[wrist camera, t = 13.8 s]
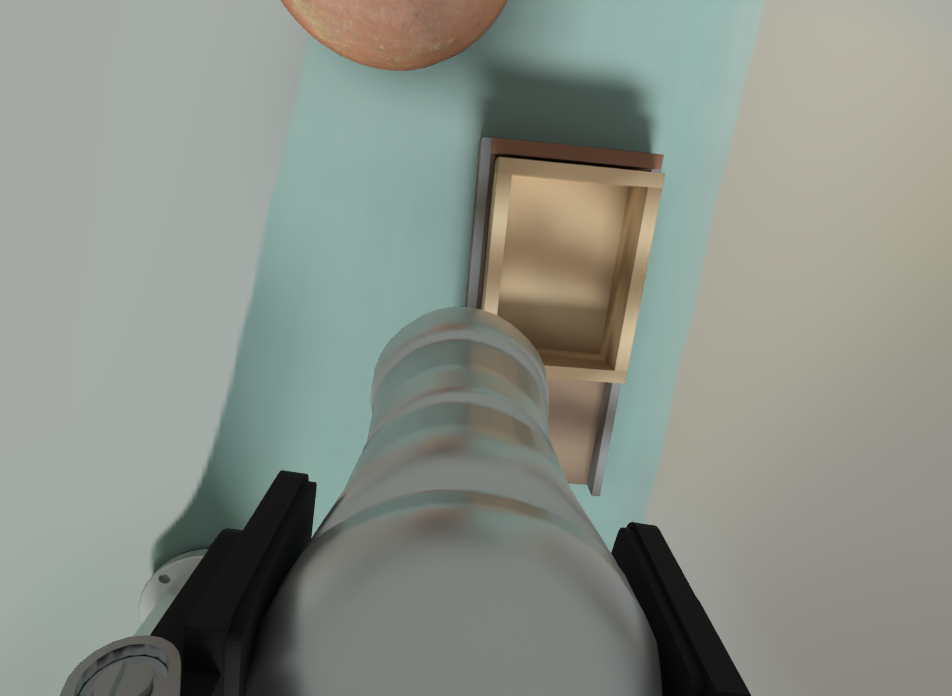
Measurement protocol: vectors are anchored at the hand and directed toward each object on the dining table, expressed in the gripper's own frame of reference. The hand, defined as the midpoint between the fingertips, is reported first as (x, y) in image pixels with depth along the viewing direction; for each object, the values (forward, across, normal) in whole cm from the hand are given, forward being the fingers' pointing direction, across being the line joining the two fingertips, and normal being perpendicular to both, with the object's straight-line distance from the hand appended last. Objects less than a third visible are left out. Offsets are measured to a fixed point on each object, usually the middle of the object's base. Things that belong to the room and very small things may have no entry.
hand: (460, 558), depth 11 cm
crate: (+25, -6, -3) cm, 26 cm away
